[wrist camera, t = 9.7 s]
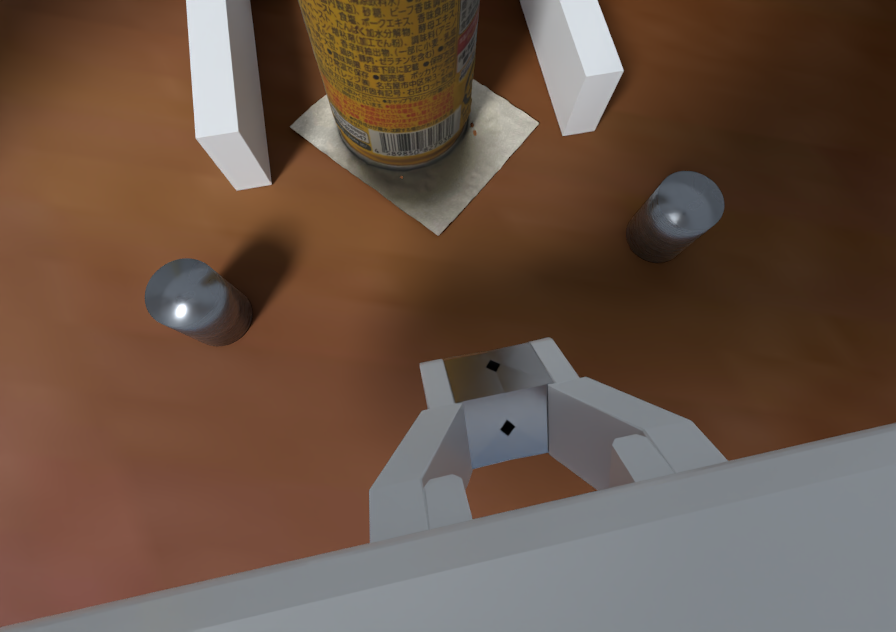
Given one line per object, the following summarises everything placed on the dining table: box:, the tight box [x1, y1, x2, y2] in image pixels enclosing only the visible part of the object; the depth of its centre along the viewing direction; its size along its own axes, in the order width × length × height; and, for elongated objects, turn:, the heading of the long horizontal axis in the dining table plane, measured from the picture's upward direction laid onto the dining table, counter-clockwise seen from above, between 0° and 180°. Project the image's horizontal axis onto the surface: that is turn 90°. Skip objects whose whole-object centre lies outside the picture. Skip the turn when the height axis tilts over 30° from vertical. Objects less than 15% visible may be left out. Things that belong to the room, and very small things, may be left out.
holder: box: [186, 0, 624, 191], centre depth 21 cm, size 12×16×4 cm
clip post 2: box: [626, 171, 724, 263], centre depth 18 cm, size 2×2×3 cm
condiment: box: [290, 0, 539, 236], centre depth 15 cm, size 7×8×12 cm
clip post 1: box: [145, 259, 253, 346], centre depth 17 cm, size 2×2×3 cm
